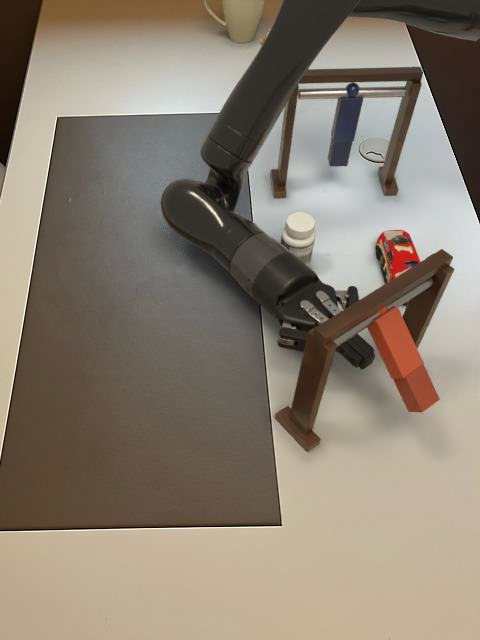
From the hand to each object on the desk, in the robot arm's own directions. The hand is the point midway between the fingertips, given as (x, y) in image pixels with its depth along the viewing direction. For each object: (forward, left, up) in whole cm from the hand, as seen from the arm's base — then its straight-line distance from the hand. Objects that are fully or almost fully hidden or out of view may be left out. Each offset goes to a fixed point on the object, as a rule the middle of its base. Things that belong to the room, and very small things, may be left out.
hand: (369, 362), depth 72 cm
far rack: (+15, -39, -8) cm, 43 cm away
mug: (+47, -77, -8) cm, 91 cm away
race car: (0, -24, -8) cm, 25 cm away
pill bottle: (+15, -19, -8) cm, 26 cm away
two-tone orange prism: (-7, +4, +1) cm, 8 cm away
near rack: (+1, 0, -8) cm, 8 cm away
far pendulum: (+15, -39, -4) cm, 42 cm away
